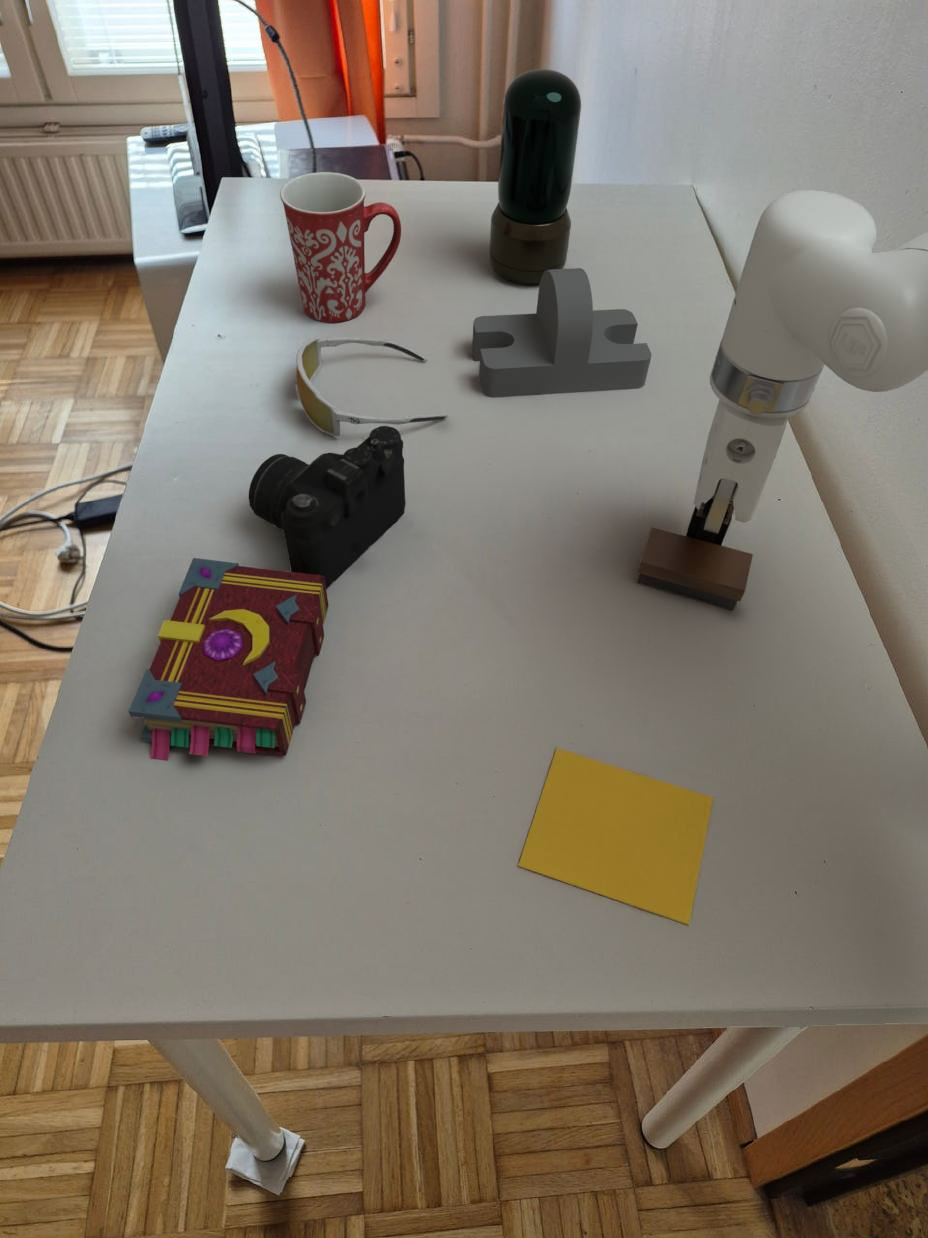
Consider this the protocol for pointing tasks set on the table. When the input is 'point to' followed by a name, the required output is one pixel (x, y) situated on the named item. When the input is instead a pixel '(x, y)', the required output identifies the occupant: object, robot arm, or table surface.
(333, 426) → the sunglasses
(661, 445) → the table surface
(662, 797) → the cloth
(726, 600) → the brush
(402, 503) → the camera
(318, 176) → the mug
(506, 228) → the lamp
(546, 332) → the bracket
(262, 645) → the decorative book
